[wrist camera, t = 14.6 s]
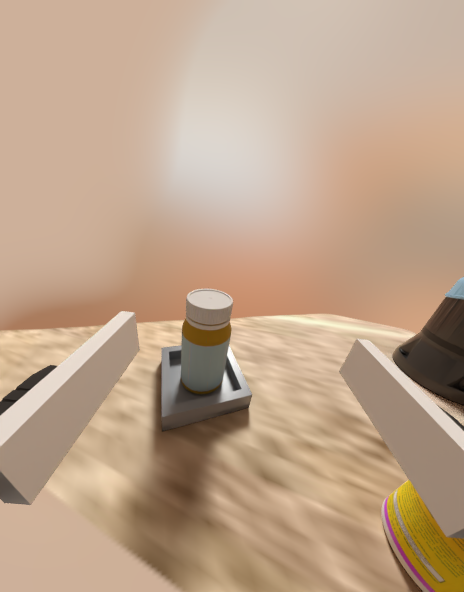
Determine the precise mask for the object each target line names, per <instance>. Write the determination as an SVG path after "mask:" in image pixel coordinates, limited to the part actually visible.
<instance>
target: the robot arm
mask: <svg viewBox="0 0 464 592" xmlns="http://www.w3.org/2000/svg"><path fill="white" fill-rule="evenodd" d="M445 296H446V297H445V299H444V300H443V301H442V303H441V304H440V306H439V307H438V309H437V310H436V311H435V312H434V314H433V315H432V316H431V318H430V319H429V320H428V322H427V323H426V325H425V326H424V328H423V329H422V330H421V332H420V333H418V334H417V335H415V336H414V337H412V338H410V339H409V340H407V341H406V342H404V343H403V344H401V345H399V346H398V347H397V349H396V350H395V351H394V353H393V359H394V361H395V363H396V364H397V365H398V366H399V368H400V369H401V370H403V371H404V372H405V373H406V374H407V375H408V376H410V377H411V378H412V379H414V380H415V381H416V382H418V383H419V384H421V385H422V386H424V387H426V388H427V389H429V390H431V391H433V392H435V393H436V394H438V395H440V396H443V397H445V398H447V399H449V400H452V401H454V402H457V403H460V404H463V405H464V277H463V278H461V279H459V280H458V281H457V283H456V284H455V285H454V286H453V287H452V289H451V290H450V291H449V292H448V293H446V294H445ZM139 350H140V349H139V341H138V333H137V325H136V317H135V313H132V312H124V311H121V312H120V313H119V314H118V315H116V316H115V317H114V318H113V319H112V320H111V321H110V322H108V323H107V324H106V325H105V326H104V327H103V328H101V329H100V330H99V331H98V332H97V333H96V334H94V335H93V336H92V337H91V338H90V339H89V340H87V341H86V342H85V343H84V344H83V345H82V346H80V347H79V348H78V349H77V350H76V351H75V352H74V353H72V354H71V355H70V356H69V357H68V358H67V359H65V360H64V361H63V362H62V363H61V364H60V365H58V366H54V365H50V366H48V367H46V368H44V369H42V370H41V371H39V372H37V373H35V374H33V375H32V376H30V377H29V378H28V379H27V380H25V381H24V382H23V383H22V384H20V385H19V386H18V387H17V388H16V390H13V391H12V392H10V393H9V394H8V395H7V396H5V397H4V398H3V400H2V401H1V402H0V499H1V500H2V501H3V502H4V503H14V504H26V505H31V504H32V503H33V501H34V500H35V498H36V497H37V495H38V494H39V493H40V491H41V490H42V488H43V487H44V485H45V484H46V483H47V481H48V480H49V478H50V477H51V475H52V474H53V473H54V471H55V470H56V468H57V467H58V465H59V464H60V463H61V461H62V460H63V458H64V457H65V455H66V454H67V453H68V451H69V450H70V448H71V447H72V445H73V444H74V443H75V441H76V440H77V438H78V437H79V436H80V434H81V433H82V431H83V430H84V428H85V427H86V426H87V424H88V423H89V421H90V420H91V418H92V417H93V416H94V414H95V413H96V411H97V410H98V408H99V407H100V406H101V404H102V403H103V401H104V400H105V398H106V397H107V396H108V394H109V393H110V391H111V390H112V388H113V387H114V386H115V384H116V383H117V381H118V380H119V378H120V377H121V376H122V374H123V373H124V371H125V370H126V368H127V367H128V366H129V364H130V363H131V361H132V360H133V359H134V357H135V356H136V354H137V353H138V351H139ZM399 368H398V367H397V366H396V365H394V364H393V363H392V362H391V361H390V360H389V359H388V358H387V357H386V356H385V355H384V354H383V353H382V352H381V351H380V350H379V349H378V348H377V347H376V346H375V345H374V344H373V343H372V342H370V341H369V340H363V339H356V341H355V343H354V345H353V347H352V349H351V351H350V352H349V354H348V356H347V358H346V360H345V362H344V364H343V366H342V367H341V369H340V371H339V372H340V374H341V375H342V377H343V378H344V380H345V381H346V383H347V385H348V386H349V388H350V389H351V391H352V392H353V394H354V395H355V397H356V398H357V400H358V401H359V403H360V405H361V406H362V408H363V409H364V411H365V412H366V414H367V415H368V417H369V418H370V420H371V422H372V423H373V425H374V426H375V428H376V429H377V431H378V432H379V434H380V435H381V437H382V439H383V440H384V442H385V443H386V445H387V446H388V448H389V449H390V451H391V452H392V454H393V455H394V457H395V459H396V460H397V462H398V463H399V465H400V466H401V468H402V469H403V471H404V472H405V474H406V476H407V477H408V479H409V480H410V482H411V483H412V485H413V486H414V488H415V489H416V491H417V493H418V494H419V496H420V497H421V499H422V500H423V502H424V503H425V505H426V506H427V508H428V509H429V511H430V513H431V514H432V516H433V517H434V519H435V520H436V522H437V523H438V525H439V526H440V528H441V530H442V531H443V533H444V534H445V536H446V537H451V538H464V426H463V425H461V424H460V423H459V422H458V421H457V420H456V419H455V418H454V417H453V416H451V415H450V414H448V413H447V412H446V411H444V410H443V409H442V408H440V407H439V406H437V405H436V404H435V403H434V402H433V401H432V400H431V399H430V398H429V397H428V396H427V395H426V394H425V393H424V392H423V391H422V390H421V389H419V388H418V387H417V386H416V385H415V384H414V383H413V382H412V381H411V380H410V379H409V378H408V377H407V376H406V375H405V374H404V373H403V372H402V371H401V370H400V369H399Z"/></svg>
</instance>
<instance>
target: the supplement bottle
mask: <svg viewBox="0 0 464 592" xmlns="http://www.w3.org/2000/svg"><path fill="white" fill-rule="evenodd" d="M382 521H383V526H384V529H385V532H386V535H387V538H388V540H389V542H390V545H391V547H392V549H393V551H394V552H395V554H396V556H397V558H398V559H399V561H400V562H401V564H402V566H403V567H404V568H405V570H406V571H407V573H408V574H409V575H410V577H411V578H412V579H413V580H414V582H415V583H416V584H417V585H418V586H419V588H420V589H421V590H422V591H423V592H464V538H451V537H446V536H445V534H444V533H443V531H442V530H441V528H440V526H439V525H438V523H437V522H436V520H435V519H434V517H433V516H432V514H431V513H430V511H429V509H428V508H427V506H426V505H425V503H424V502H423V500H422V499H421V497H420V496H419V494H418V493H417V491H416V489H415V488H414V486H413V485H412V483H411V482H410V480H408V481H406V482H405V483H404V484H403V485H401V486H400V487H399V488H398V489H396V490H395V491H394V492H393V493H392V494H390V495H389V496H388V497H387V498H386V499H385V500H384V502H383V505H382Z"/></svg>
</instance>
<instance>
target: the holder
mask: <svg viewBox="0 0 464 592" xmlns="http://www.w3.org/2000/svg"><path fill="white" fill-rule="evenodd" d="M181 349H182V345H181V346H173V347H164V348H162V431H166V430H169V429H173V428H177V427H180V426H184V425H187V424H191V423H195V422H198V421H202V420H206V419H209V418H213V417H217V416H220V415H224V414H227V413H231V412H235V411H238V410H242V409H246V408H249V405H250V401H251V397H252V393H251V391H250V389H249V387H248V385H247V382H246V380H245V378H244V376H243V374H242V372H241V370H240V368H239V366H238V363H237V361H236V359H235V357H234V355H233V353H232V351H231V349H230V346H229V348H228V353H227V359H226V365H225V371H224V376H223V381H222V383H221V385H220V386H219V387H218V388H217V389H216V390H215V391H213V392H210V393H208V394H196V393H192V392H190V391H189V390H187V389H186V388H185V387H184V386H183V384H182V381H181Z"/></svg>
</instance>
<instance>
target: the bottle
mask: <svg viewBox="0 0 464 592" xmlns="http://www.w3.org/2000/svg"><path fill="white" fill-rule="evenodd" d="M232 306H233V299H232V297H231V296H230V295H228V294H227V293H225V292H222V291H219V290H214V289H198V290H194V291H192V292H190V293H189V294H188V295H187V299H186V319H185V321H184V323H183V327H182V349H181V381H182V384H183V386H184V387H185V388H186V389H187V390H189V391H190V392H192V393H196V394H208V393H210V392H213V391H215V390H216V389H217V388H218V387H219V386H220V385H221V383H222V381H223V376H224V371H225V365H226V359H227V353H228V348H229V342H230V336H231V325H230V316H231V312H232Z"/></svg>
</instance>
